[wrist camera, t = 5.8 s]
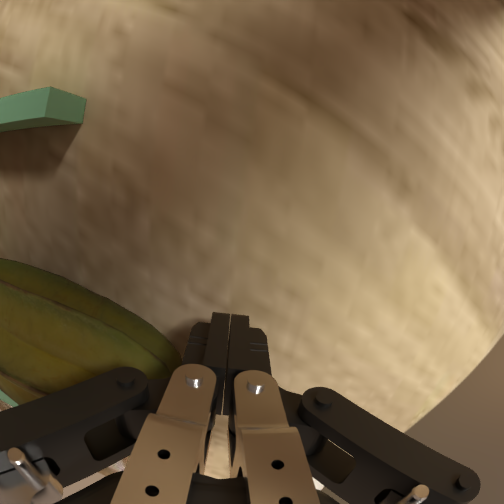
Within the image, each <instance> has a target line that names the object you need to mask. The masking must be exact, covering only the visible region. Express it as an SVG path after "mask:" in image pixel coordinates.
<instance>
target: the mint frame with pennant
mask: <svg viewBox="0 0 504 504" xmlns="http://www.w3.org/2000/svg"><path fill="white" fill-rule="evenodd" d="M85 104H86V99H85V98H82V97H80V96H77V95H74V94H71V93H68V92H65V91H62V90H59V89H56V88H53V87H46V88H41V89H36V90H31V91H26V92H22V93H18V94H14V95H10V96H6V97H3V98H0V132H5V131H11V130H18V129H26V128H34V127H43V126H54V125H67V124H82V122H83V116H84V110H85ZM0 399H1V400H2V401H4V402H6V403H8V404H9V405H11V406H13V407H15V406H18V404H17V403H16V402H14V401H13V400H12V399H11V398H9V397H8V396H7V395H6V394H5V393H4V392H2V391H1V390H0Z"/></svg>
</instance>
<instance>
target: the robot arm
mask: <svg viewBox="0 0 504 504" xmlns="http://www.w3.org/2000/svg"><path fill="white" fill-rule="evenodd" d="M229 322H230V314H226V313H218V312H213V313H212V319H211V323H203V322H198V323H197V324H196V325H195V326H194V327H192V329H191V333H190V337H189V340H188V343H187V347H186V350H185V354H184V357H183V361H182V364H181V366H180V367H178V368H177V369H176V370H175V371H174V372H173V374H172V376H171V377H168V378H164V379H150V380H148V379H147V377H146V375H145V374H144V373H143V372H142V371H141V370H139V369H136V368H133V367H118V368H115V369H112V370H110V371H108V372H105V373H103V374H100V375H98V376H95V377H93V378H90V379H88V380H85V381H83V382H80V383H78V384H75V385H73V386H70V387H68V388H65V389H62V390H60V391H57V392H54V393H52V394H49V395H46V396H44V397H41V398H38V399H35V400H33V401H30V402H27V403H24V404H21V405H18V406H15V407H13V408H10V409H7V410H4V411H1V412H0V504H339V503H338V502H337V501H335V500H334V499H333V498H331V497H330V496H328V495H327V494H325V493H323V492H322V491H320V490H318V489H316V488H315V485H314V481H313V478H314V479H316V480H317V481H318V482H320V483H321V484H322V485H324V486H325V487H327V488H328V489H329V490H331V491H332V492H334V493H335V494H336V495H338V496H339V497H341V498H342V499H343V500H345V501H346V502H348V503H349V504H468V503H469V502H470V501H471V500H473V499H474V498H475V497H476V496H477V495H478V493H479V490H480V480H479V477H478V475H477V474H476V473H475V472H474V471H473V470H471V469H470V468H468V467H466V466H464V465H462V464H460V463H458V462H456V461H454V460H452V459H450V458H448V457H446V456H444V455H442V454H440V453H438V452H436V451H434V450H433V449H431V448H429V447H427V446H425V445H423V444H422V443H420V442H418V441H416V440H414V439H413V438H411V437H409V436H407V435H405V434H404V433H402V432H400V431H399V430H397V429H395V428H393V427H392V426H390V425H388V424H387V423H385V422H383V421H382V420H380V419H378V418H377V417H375V416H373V415H372V414H370V413H369V412H367V411H365V410H364V409H362V408H361V407H359V406H357V405H356V404H354V403H353V402H351V401H350V400H348V399H346V398H345V397H343V396H342V395H340V394H339V393H337V392H336V391H334V390H332V389H329V388H325V387H314V388H310V389H308V390H307V391H305V392H304V394H303V395H300V394H296V393H292V392H289V391H286V390H284V389H282V388H280V387H279V386H278V384H277V381H276V380H275V379H274V378H273V377H272V374H271V367H270V359H269V352H268V345H267V336H266V335H265V334H264V332H263V331H262V330H261V329H259V328H249V316H246V315H236V314H231V322H230V331H229ZM228 335H229V340H228ZM227 348H228V349H227ZM225 373H226V374H225ZM224 382H225V389H224ZM223 391H224V404H223V415H229V421H228V430H227V438H228V453H229V467H230V478H228V479H215V478H212V477H209V476H205V475H204V471H205V466H206V461H207V456H208V451H209V446H210V441H211V436H212V428H213V427H214V424H215V416H216V414H218V415H221V410H222V401H223ZM328 439H329V440H330V441H332V442H333V443H334V444H336V445H337V446H339V447H340V448H341V449H340V448H339V447H337V446H336V445H334V444H333V443H332V442H330V441H329V440H328ZM342 449H343V450H344V451H346V452H347V453H349V454H350V455H352V456H353V457H354V458H353V457H352V456H350V455H349V454H347V453H346V452H344V451H343V450H342ZM129 455H130V457H129V460H128V462H127V464H126V467H125V469H124V471H120V472H116V473H113V474H111V475H108V476H106V477H104V478H102V479H101V480H99V481H97V482H95V483H93V484H91V485H90V486H88V487H86V488H84V489H82V490H80V491H78V492H76V493H74V494H72V495H70V496H68V497H66V498H64V499H62V500H61V498H62V495H63V488H64V487H66V486H69V485H71V484H73V483H75V482H77V481H80V480H82V479H84V478H86V477H88V476H90V475H92V474H94V473H96V472H98V471H100V470H102V469H104V468H106V467H108V466H110V465H112V464H114V463H116V462H118V461H120V460H121V459H123V458H125V457H127V456H129ZM312 477H313V478H312Z"/></svg>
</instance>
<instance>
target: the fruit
mask: <svg viewBox="0 0 504 504" xmlns="http://www.w3.org/2000/svg"><path fill="white" fill-rule="evenodd" d="M181 364H182V359H181V356H180V353H179V352H178V351H177V350H176V349H175V348H174V347H173V345H172V344H171V343H170V342H169V341H168V340H167V338H166V337H165V336H164V335H162V334H161V333H160V332H159V331H158V330H157V329H155V328H154V327H153V326H152V325H151V324H149V323H148V322H146V321H145V320H143V319H142V318H140V317H139V316H137V315H136V314H134V313H132V312H130V311H128V310H127V309H125V308H123V307H121V306H120V305H118V304H116V303H115V302H113V301H111V300H110V299H108V298H106V297H103V296H100V295H98V294H95V293H93V292H91V291H89V290H88V289H86V288H84V287H82V286H80V285H79V284H76V283H74V282H72V281H70V280H68V279H66V278H64V277H61V276H59V275H56V274H53V273H50V272H47V271H44V270H41V269H39V268H36V267H33V266H30V265H27V264H24V263H20V262H17V261H13V260H8V259H3V258H0V390H1V391H2V392H4V393H5V394H6V395H7V396H8V397H9V398H11V399H12V400H13V401H14V402H16V403H17V404H18V405H21V404H24V403H27V402H30V401H33V400H35V399H38V398H41V397H44V396H46V395H49V394H52V393H54V392H57V391H60V390H62V389H65V388H68V387H70V386H73V385H75V384H78V383H80V382H83V381H85V380H88V379H90V378H93V377H95V376H98V375H100V374H103V373H105V372H108V371H110V370H112V369H115V368H118V367H133V368H136V369H139V370H141V371H142V372H143V373H144V374H145V375H146V377H147V379H148V380H150V379H164V378H168V377H171V376H172V374H173V372H174V371H175V370H176V369H177V368H178V367H180V366H181Z"/></svg>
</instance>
